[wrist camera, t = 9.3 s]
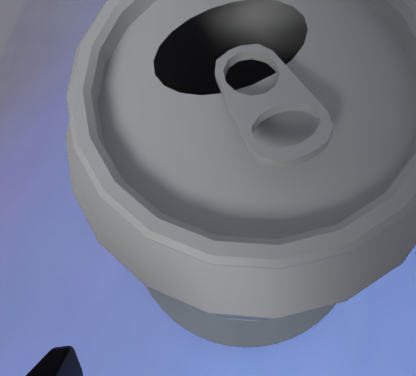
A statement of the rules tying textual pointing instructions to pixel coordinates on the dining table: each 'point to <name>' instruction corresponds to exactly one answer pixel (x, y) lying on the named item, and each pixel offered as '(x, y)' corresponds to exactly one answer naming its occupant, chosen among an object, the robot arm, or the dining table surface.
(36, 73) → the dining table surface
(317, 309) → the dish
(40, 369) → the robot arm
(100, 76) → the can
